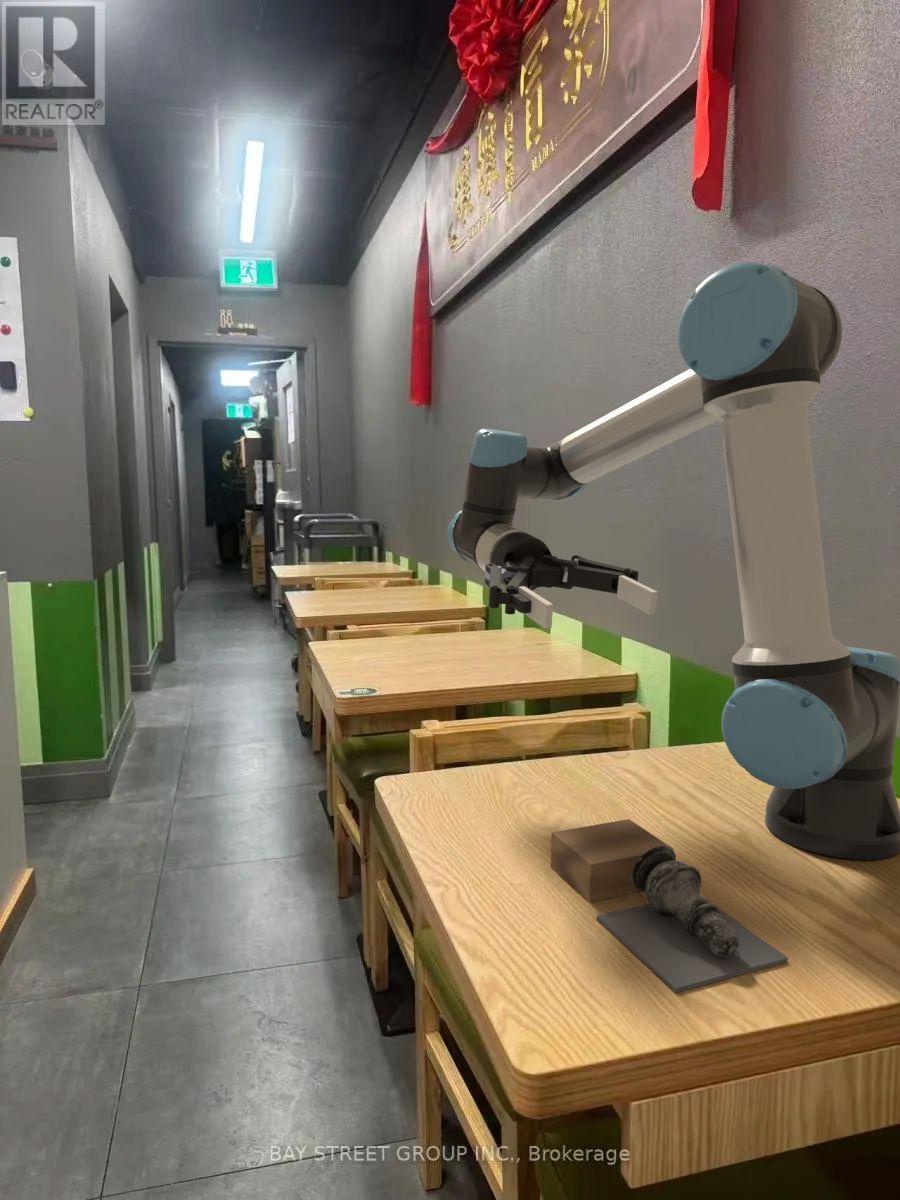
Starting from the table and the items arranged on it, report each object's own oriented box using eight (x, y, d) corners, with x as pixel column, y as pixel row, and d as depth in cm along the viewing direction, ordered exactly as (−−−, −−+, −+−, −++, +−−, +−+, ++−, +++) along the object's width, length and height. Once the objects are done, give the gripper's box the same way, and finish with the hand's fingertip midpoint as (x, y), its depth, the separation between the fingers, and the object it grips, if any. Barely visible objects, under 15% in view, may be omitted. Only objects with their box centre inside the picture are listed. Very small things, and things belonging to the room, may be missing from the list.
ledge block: (550, 866, 86) (551, 832, 86) (627, 852, 90) (629, 819, 89) (589, 902, 79) (590, 864, 78) (671, 884, 82) (673, 848, 82)
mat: (697, 896, 80) (697, 893, 80) (787, 962, 69) (787, 957, 69) (596, 919, 76) (596, 915, 76) (675, 992, 65) (675, 988, 65)
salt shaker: (662, 832, 76) (751, 918, 66) (686, 862, 79) (775, 948, 69) (618, 874, 76) (701, 967, 65) (644, 902, 79) (727, 995, 68)
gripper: (591, 576, 111) (689, 628, 93) (427, 594, 101) (500, 655, 83) (595, 524, 108) (697, 567, 90) (428, 538, 99) (503, 588, 81)
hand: (603, 609), depth 87 cm, fingers open, 13 cm apart
